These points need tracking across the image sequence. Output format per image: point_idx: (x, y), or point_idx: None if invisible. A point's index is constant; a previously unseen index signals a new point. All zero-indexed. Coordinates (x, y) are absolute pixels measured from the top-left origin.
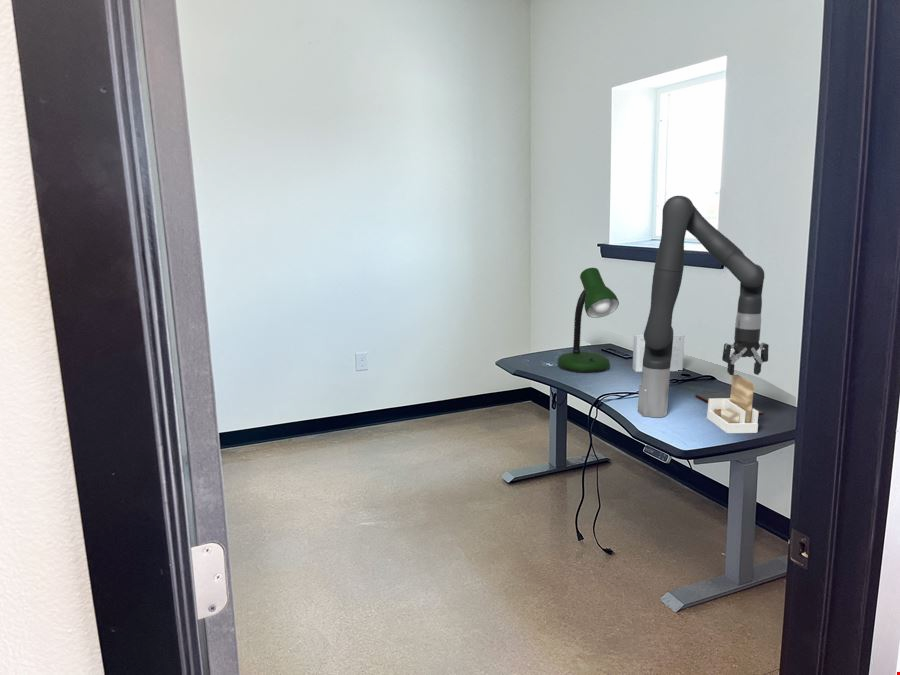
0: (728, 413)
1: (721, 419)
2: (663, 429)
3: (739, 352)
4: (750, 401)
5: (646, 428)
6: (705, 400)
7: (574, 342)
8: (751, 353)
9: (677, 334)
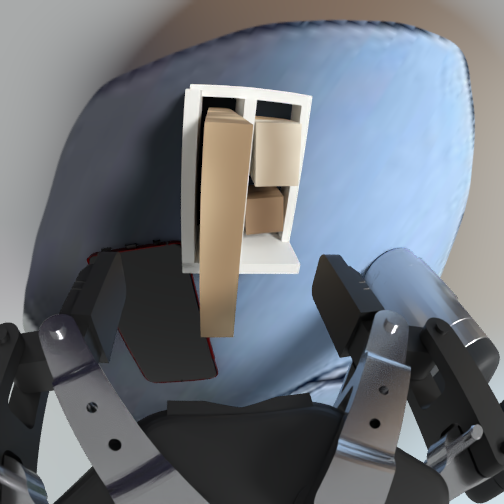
0: (300, 132)
1: (303, 149)
2: (437, 169)
3: (395, 434)
4: (218, 113)
5: (458, 185)
6: (209, 349)
7: None
8: (174, 450)
9: None
